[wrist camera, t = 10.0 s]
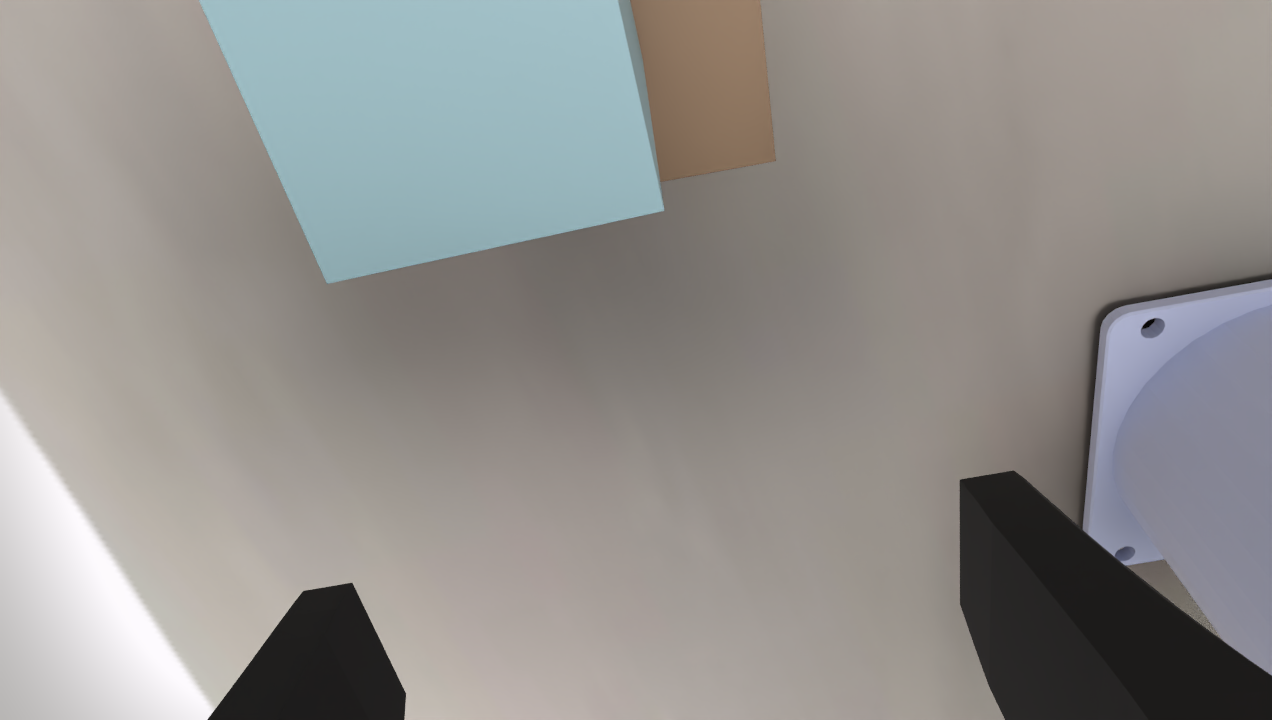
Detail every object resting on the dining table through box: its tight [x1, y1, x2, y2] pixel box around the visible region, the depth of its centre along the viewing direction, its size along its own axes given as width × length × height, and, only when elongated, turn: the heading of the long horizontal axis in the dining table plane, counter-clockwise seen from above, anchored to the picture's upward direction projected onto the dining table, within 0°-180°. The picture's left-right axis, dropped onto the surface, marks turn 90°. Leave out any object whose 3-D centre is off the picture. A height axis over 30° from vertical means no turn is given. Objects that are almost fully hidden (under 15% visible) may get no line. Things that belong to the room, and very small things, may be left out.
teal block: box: [199, 0, 664, 284], centre depth 12 cm, size 4×4×6 cm
